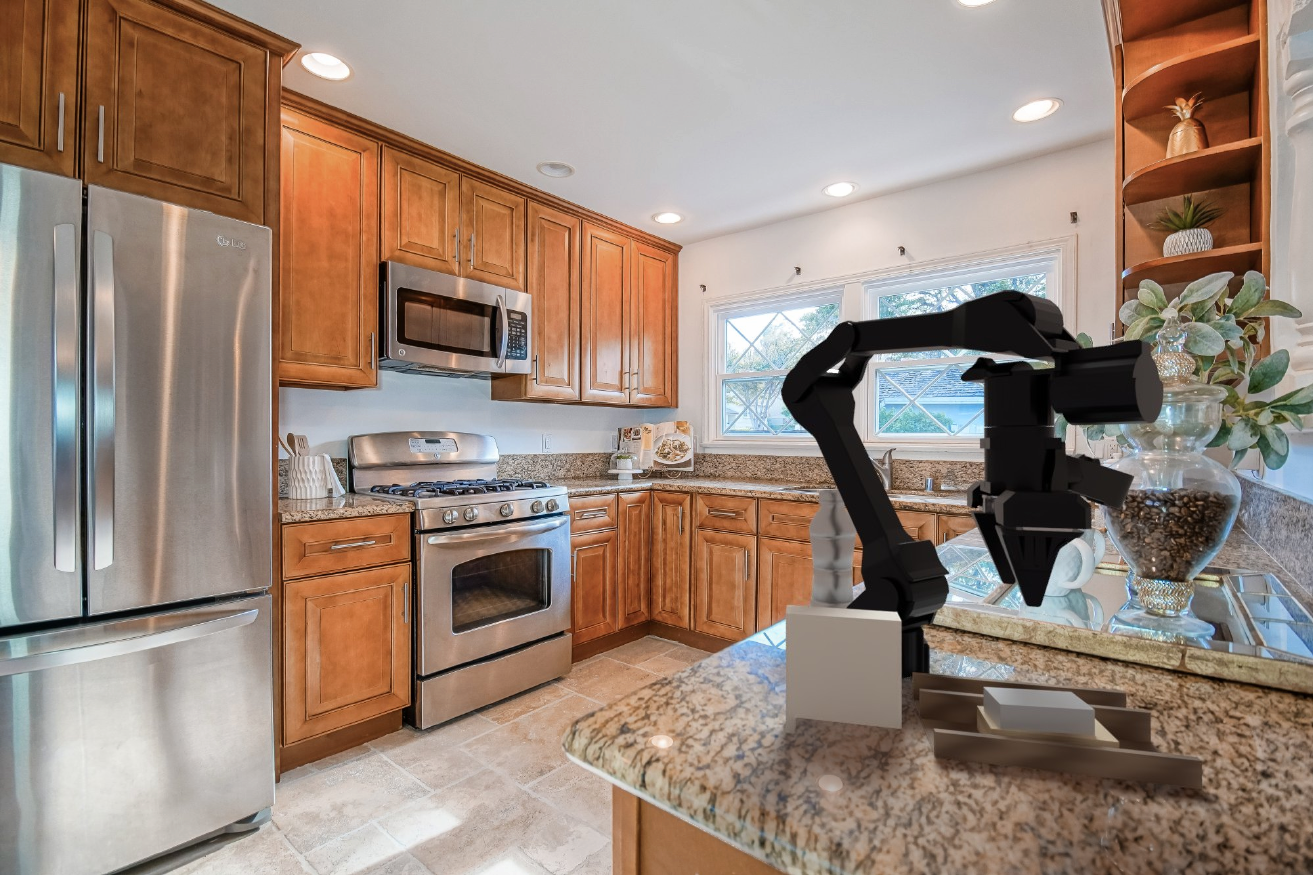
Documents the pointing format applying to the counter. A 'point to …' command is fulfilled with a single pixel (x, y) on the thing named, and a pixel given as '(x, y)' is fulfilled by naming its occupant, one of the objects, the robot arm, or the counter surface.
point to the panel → (843, 666)
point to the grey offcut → (1039, 711)
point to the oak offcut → (1047, 733)
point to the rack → (956, 737)
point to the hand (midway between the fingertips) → (1020, 594)
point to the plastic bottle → (832, 552)
